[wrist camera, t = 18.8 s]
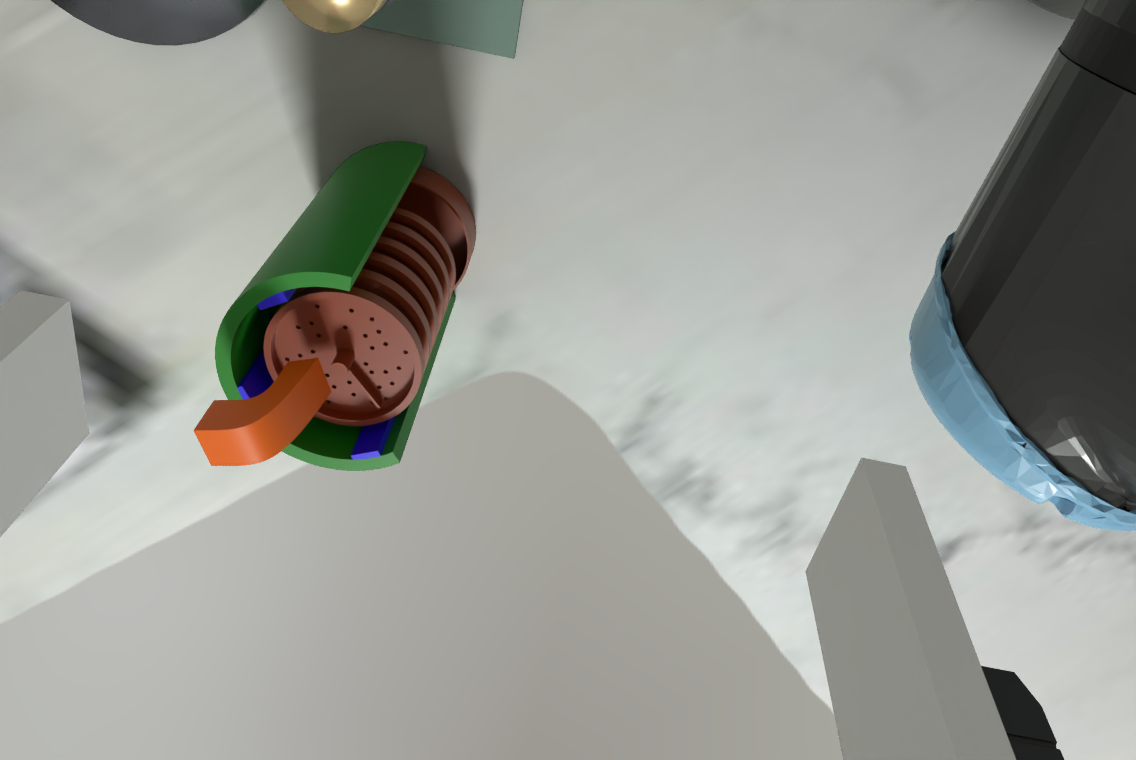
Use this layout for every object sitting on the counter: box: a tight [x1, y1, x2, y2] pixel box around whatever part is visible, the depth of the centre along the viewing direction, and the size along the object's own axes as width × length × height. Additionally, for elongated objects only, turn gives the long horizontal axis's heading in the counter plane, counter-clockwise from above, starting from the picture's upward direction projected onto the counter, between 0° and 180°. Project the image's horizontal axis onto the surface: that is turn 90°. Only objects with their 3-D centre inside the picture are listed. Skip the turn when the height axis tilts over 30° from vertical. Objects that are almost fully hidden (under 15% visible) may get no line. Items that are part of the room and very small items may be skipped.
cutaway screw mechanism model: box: [194, 142, 476, 471], centre depth 43 cm, size 10×9×20 cm
